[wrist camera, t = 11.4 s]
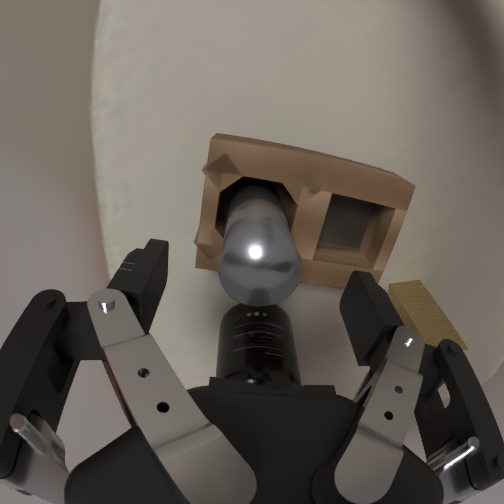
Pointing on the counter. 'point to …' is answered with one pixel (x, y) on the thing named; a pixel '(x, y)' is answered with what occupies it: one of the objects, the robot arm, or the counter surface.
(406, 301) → the square bit
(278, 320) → the supplement bottle
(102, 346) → the robot arm
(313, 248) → the bore block
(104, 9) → the counter surface
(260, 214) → the cylinder
